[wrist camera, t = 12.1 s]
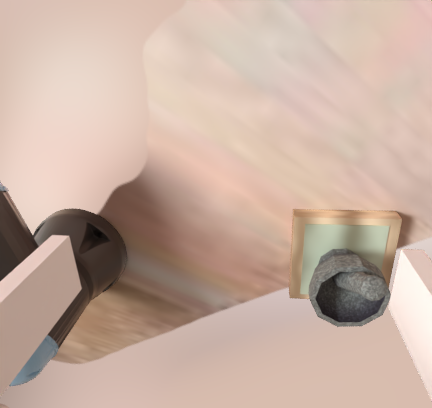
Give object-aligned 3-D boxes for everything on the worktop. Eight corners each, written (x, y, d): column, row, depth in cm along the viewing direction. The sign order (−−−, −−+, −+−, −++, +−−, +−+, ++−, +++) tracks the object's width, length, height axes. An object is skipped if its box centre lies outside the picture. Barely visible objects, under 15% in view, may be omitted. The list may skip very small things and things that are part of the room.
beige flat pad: (288, 287, 56) (289, 298, 54) (293, 209, 50) (294, 217, 48) (380, 292, 54) (385, 303, 52) (395, 211, 48) (402, 219, 46)
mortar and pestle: (360, 299, 52) (384, 366, 41) (298, 286, 52) (306, 349, 42) (388, 236, 47) (425, 293, 36) (319, 221, 47) (335, 274, 37)
